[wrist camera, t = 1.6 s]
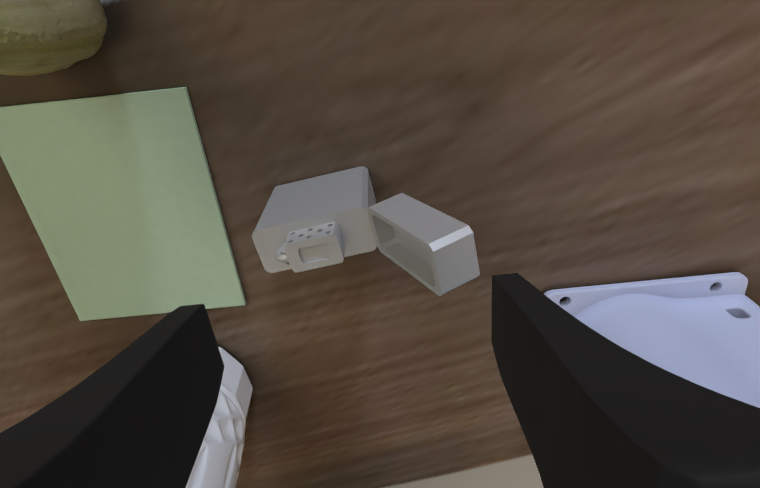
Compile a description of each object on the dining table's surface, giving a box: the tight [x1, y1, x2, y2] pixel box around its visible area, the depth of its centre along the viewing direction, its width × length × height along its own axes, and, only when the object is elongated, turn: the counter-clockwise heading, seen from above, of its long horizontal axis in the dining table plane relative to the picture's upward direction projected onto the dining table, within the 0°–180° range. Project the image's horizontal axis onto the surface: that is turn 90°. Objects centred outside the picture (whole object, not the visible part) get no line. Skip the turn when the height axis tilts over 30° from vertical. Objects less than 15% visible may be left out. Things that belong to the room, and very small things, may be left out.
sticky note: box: [0, 87, 246, 321], centre depth 21 cm, size 8×10×1 cm
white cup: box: [186, 346, 253, 488], centre depth 21 cm, size 8×8×10 cm
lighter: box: [252, 166, 480, 296], centre depth 17 cm, size 7×2×8 cm, turn 103°
